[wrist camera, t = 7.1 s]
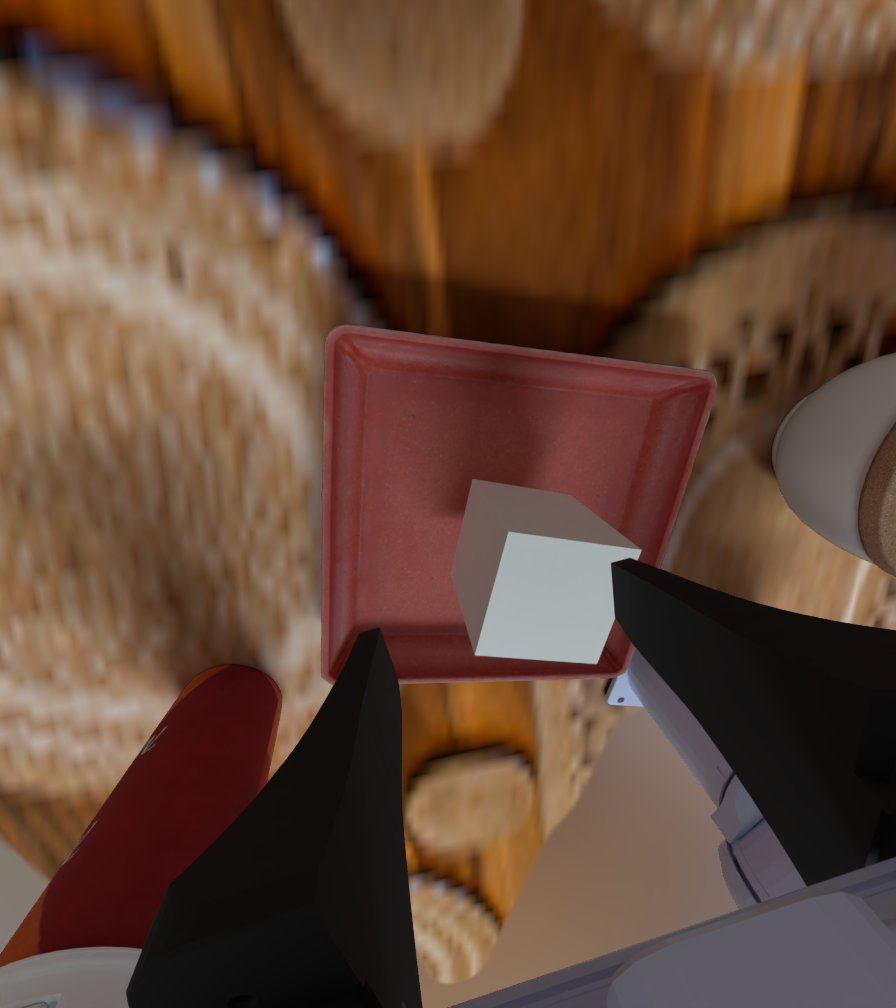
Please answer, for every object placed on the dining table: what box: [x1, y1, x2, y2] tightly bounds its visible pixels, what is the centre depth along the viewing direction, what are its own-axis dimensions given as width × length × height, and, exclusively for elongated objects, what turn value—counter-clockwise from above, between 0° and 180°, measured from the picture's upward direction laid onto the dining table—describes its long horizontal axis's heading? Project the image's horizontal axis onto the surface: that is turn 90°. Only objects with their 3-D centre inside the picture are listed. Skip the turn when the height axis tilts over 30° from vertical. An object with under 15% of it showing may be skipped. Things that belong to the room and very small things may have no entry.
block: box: [451, 479, 642, 664], centre depth 18 cm, size 5×5×6 cm
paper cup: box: [0, 664, 282, 1008], centre depth 18 cm, size 8×8×14 cm
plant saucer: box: [321, 324, 717, 685], centre depth 22 cm, size 18×18×3 cm
